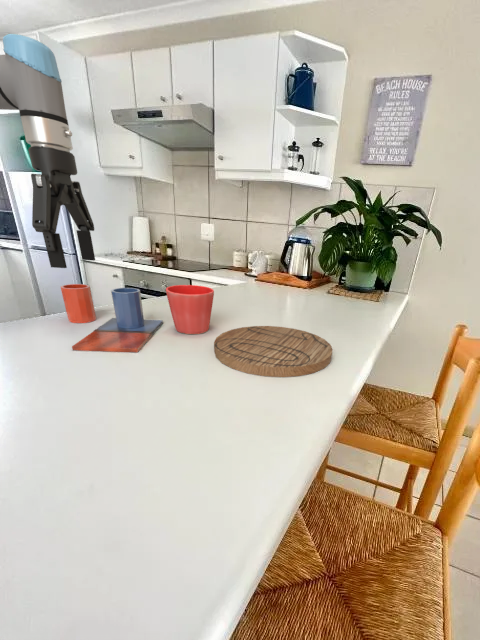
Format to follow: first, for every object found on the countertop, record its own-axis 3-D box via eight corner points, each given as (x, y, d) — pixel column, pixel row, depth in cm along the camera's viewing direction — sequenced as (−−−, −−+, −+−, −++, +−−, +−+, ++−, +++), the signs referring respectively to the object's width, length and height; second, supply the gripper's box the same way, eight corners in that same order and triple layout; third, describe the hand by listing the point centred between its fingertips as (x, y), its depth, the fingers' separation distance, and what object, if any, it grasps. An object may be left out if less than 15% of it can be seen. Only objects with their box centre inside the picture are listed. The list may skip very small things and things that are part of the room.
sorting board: (72, 350, 62) (71, 345, 62) (112, 321, 80) (112, 317, 79) (137, 352, 63) (137, 348, 63) (162, 323, 81) (162, 319, 81)
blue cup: (113, 328, 73) (106, 292, 69) (122, 320, 78) (117, 287, 74) (139, 329, 73) (134, 293, 70) (147, 322, 79) (143, 288, 75)
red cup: (63, 322, 76) (55, 288, 72) (75, 315, 81) (68, 283, 78) (89, 323, 77) (82, 289, 73) (100, 317, 82) (94, 284, 78)
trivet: (247, 327, 83) (247, 320, 83) (342, 345, 76) (343, 337, 76) (189, 359, 62) (188, 350, 61) (312, 388, 55) (314, 378, 54)
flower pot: (224, 328, 81) (223, 289, 77) (193, 340, 72) (191, 296, 68) (191, 320, 85) (189, 282, 81) (159, 330, 76) (154, 288, 72)
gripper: (33, 137, 53) (64, 272, 62) (98, 161, 75) (113, 258, 84) (-18, 131, 52) (21, 270, 61) (63, 157, 74) (83, 256, 83)
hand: (75, 263), depth 73 cm, fingers open, 13 cm apart
